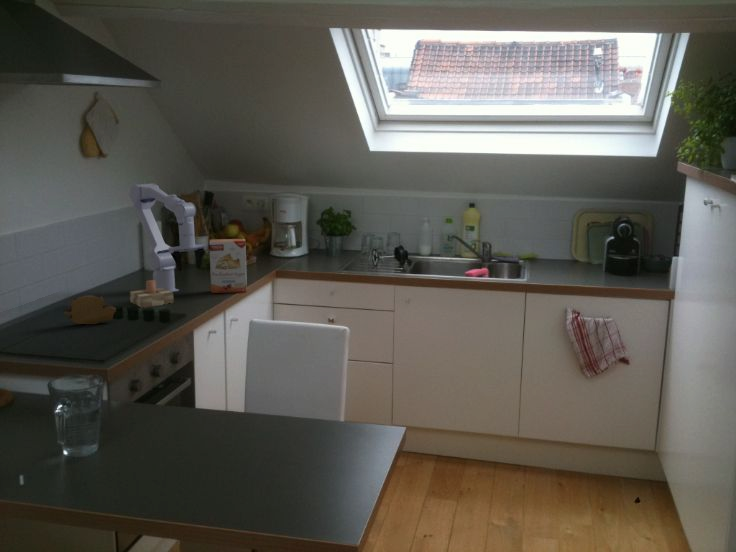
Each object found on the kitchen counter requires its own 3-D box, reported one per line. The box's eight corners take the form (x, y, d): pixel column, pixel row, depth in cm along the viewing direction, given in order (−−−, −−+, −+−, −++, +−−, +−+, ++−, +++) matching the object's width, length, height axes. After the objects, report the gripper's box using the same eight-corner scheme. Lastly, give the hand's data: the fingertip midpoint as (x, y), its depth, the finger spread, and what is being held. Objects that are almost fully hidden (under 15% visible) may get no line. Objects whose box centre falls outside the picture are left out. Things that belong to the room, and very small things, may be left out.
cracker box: (211, 294, 293) (208, 241, 289) (211, 290, 298) (209, 239, 294) (247, 292, 295) (245, 240, 291) (247, 289, 301) (245, 238, 296)
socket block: (130, 301, 280) (129, 291, 279) (161, 297, 287) (160, 287, 286) (142, 307, 270) (141, 297, 269) (173, 303, 277) (173, 292, 277)
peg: (145, 301, 279) (144, 280, 277) (154, 300, 281) (153, 279, 279) (149, 303, 276) (147, 282, 274) (158, 302, 278) (156, 281, 276)
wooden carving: (116, 320, 253) (114, 291, 251) (117, 323, 249) (115, 293, 247) (64, 325, 247) (61, 295, 245) (64, 328, 242) (62, 298, 241)
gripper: (173, 237, 277) (175, 273, 280) (208, 233, 286) (210, 268, 288) (165, 235, 283) (168, 270, 285) (201, 232, 291) (203, 266, 294)
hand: (189, 269), depth 287 cm, fingers open, 7 cm apart
